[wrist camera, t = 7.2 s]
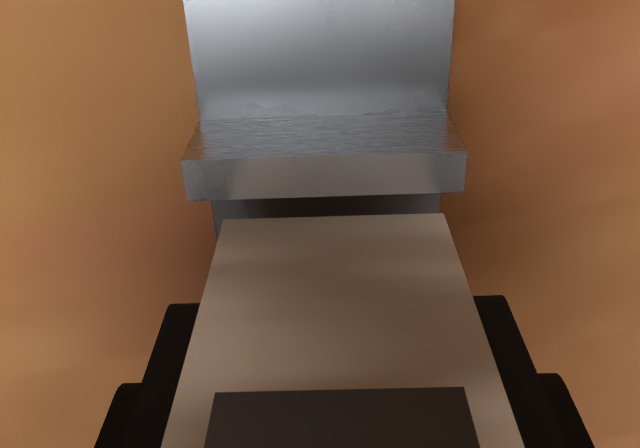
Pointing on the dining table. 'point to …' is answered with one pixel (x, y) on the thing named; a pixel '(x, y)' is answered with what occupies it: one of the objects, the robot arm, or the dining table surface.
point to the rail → (321, 108)
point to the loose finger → (339, 341)
